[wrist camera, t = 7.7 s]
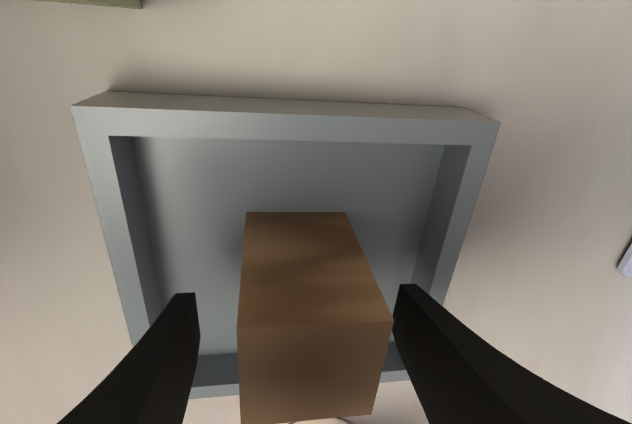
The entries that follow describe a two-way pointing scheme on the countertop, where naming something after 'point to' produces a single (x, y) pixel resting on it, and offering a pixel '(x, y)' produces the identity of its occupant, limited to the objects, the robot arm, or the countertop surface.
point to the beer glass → (323, 421)
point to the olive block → (104, 3)
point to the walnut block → (307, 320)
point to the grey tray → (272, 197)
